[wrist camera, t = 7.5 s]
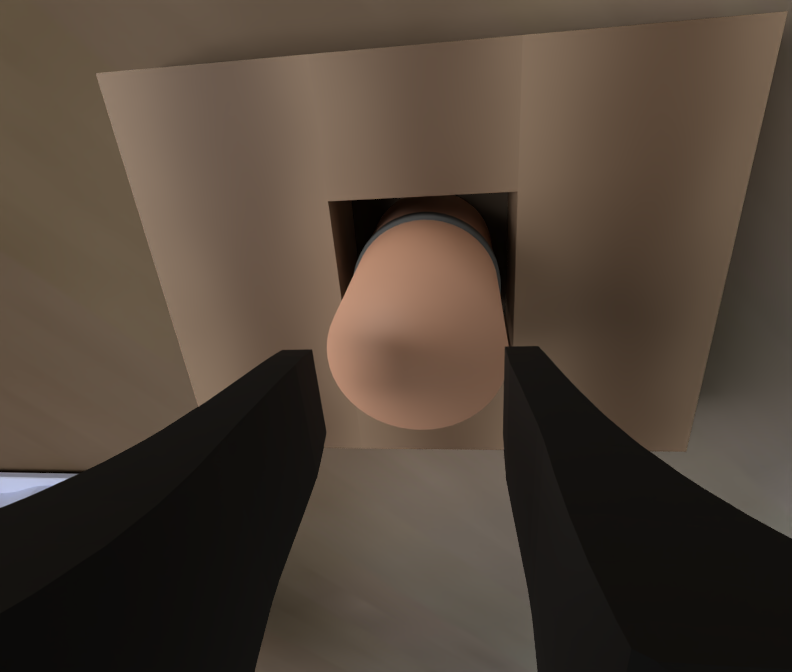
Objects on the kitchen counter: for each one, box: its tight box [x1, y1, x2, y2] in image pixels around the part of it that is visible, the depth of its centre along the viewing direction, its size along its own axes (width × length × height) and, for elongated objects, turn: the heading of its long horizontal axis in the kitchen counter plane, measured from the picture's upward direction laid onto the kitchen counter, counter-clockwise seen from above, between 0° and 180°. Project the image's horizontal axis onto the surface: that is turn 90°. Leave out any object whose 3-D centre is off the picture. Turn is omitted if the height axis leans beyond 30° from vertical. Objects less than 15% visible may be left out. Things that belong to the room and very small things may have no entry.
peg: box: [327, 195, 508, 430], centre depth 15 cm, size 4×4×7 cm
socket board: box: [96, 11, 788, 452], centre depth 16 cm, size 16×12×3 cm
